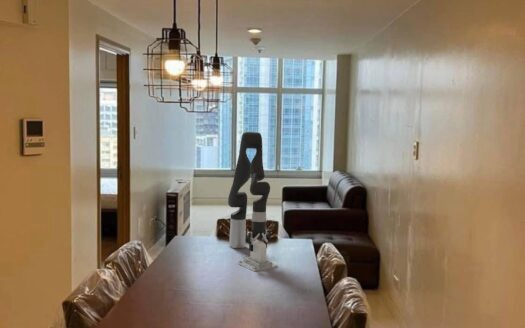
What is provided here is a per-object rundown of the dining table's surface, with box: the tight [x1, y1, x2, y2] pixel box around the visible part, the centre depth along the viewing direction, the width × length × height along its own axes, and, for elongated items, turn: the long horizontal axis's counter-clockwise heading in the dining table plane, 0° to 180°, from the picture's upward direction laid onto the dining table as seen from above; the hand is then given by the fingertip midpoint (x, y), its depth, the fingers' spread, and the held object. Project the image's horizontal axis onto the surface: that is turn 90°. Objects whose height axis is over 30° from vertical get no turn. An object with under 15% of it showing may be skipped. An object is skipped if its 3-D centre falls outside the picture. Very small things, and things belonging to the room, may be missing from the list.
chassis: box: [237, 256, 279, 272], centre depth 261 cm, size 16×15×3 cm
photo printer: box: [249, 239, 267, 263], centre depth 261 cm, size 10×4×12 cm, turn 38°
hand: (258, 250), depth 261 cm, fingers open, 8 cm apart
